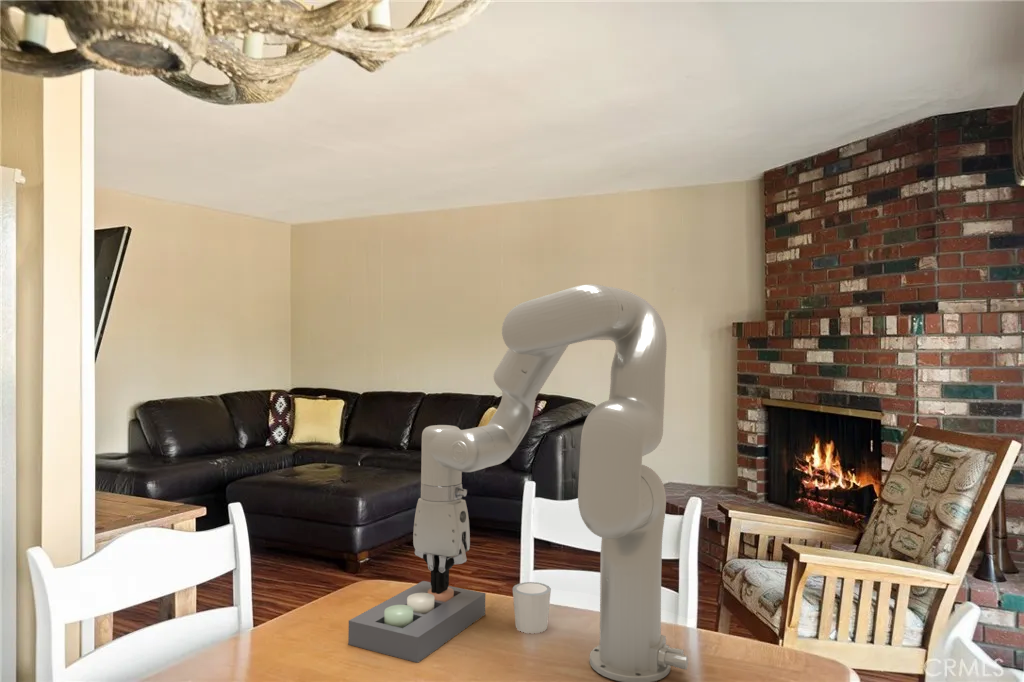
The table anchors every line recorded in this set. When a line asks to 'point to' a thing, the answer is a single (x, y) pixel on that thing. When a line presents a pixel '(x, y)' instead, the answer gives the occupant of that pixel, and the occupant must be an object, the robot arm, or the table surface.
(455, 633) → the console
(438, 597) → the terracotta button
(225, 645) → the table surface
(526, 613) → the light grey cup
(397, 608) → the sage button
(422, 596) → the cream button
